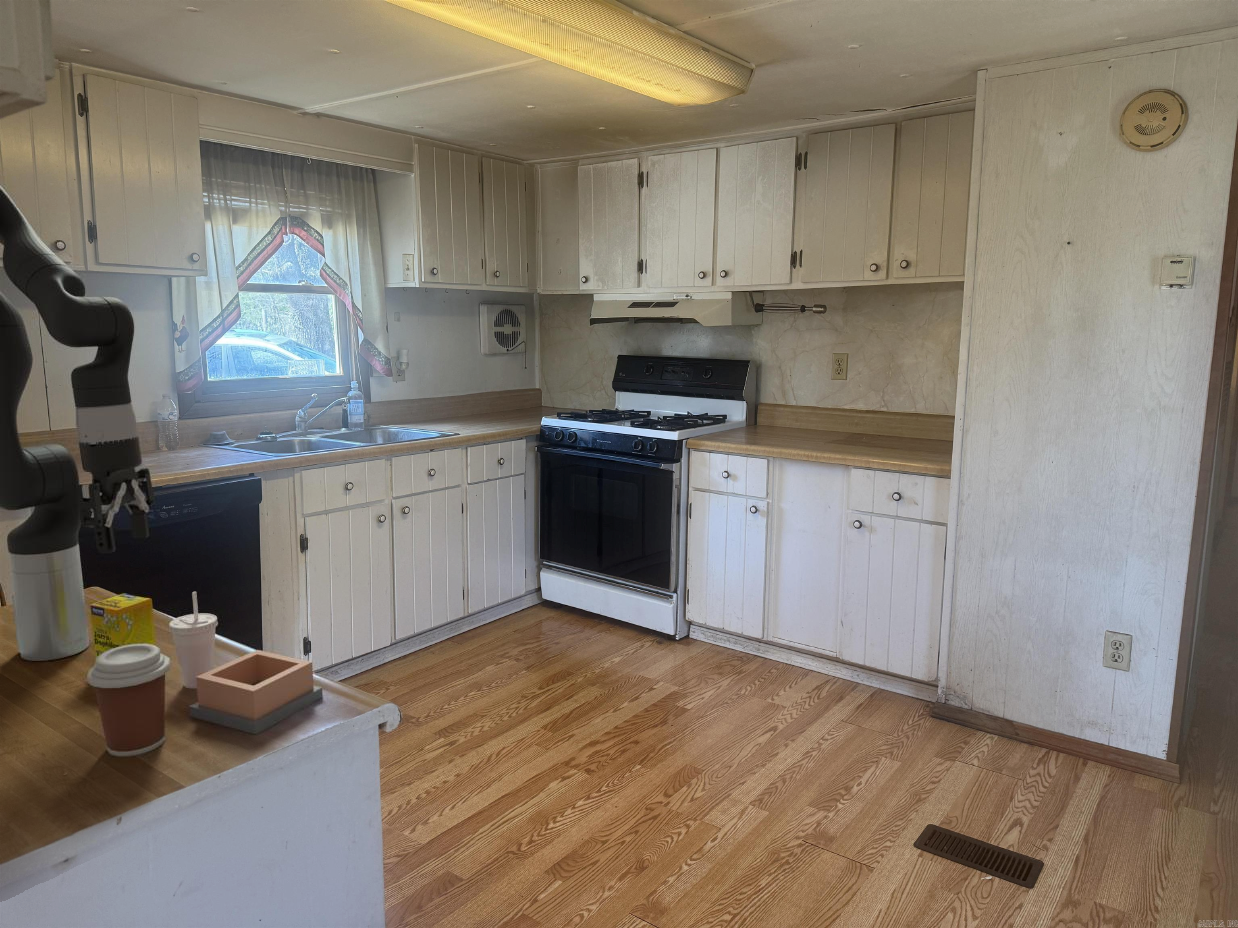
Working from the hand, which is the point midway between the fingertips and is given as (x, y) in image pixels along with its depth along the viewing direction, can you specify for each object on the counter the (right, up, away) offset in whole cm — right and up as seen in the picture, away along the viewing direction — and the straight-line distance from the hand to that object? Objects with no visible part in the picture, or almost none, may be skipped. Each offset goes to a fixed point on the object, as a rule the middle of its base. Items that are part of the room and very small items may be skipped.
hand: (124, 544), depth 126 cm
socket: (+23, -22, -8) cm, 33 cm away
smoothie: (+11, -21, -1) cm, 23 cm away
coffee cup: (+12, -24, -18) cm, 32 cm away
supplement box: (-2, -20, +4) cm, 20 cm away
